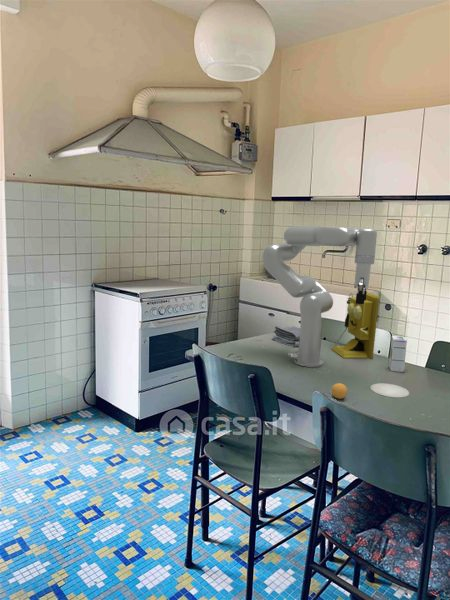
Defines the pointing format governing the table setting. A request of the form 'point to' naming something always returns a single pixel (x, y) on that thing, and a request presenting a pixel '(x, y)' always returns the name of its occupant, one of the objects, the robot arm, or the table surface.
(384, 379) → the table surface
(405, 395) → the disc
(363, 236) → the robot arm
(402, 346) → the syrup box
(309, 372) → the table surface
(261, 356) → the table surface
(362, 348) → the vintage telephone
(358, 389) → the table surface
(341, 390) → the ball
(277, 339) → the towel
